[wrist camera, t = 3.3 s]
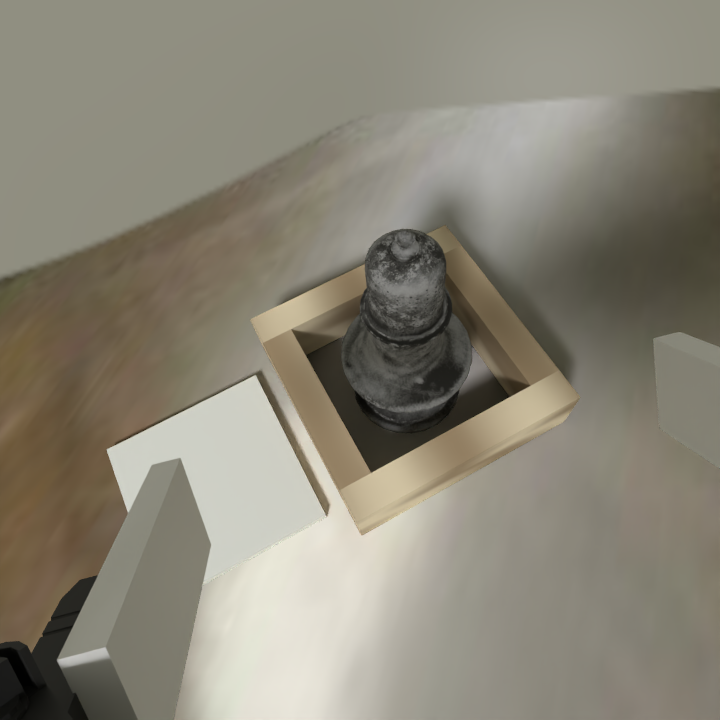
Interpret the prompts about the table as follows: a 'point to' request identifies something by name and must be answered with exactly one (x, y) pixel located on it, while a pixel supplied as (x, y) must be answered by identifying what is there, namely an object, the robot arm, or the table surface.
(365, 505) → the wooden square frame
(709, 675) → the table surface
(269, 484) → the white mat
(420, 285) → the dark chess piece
